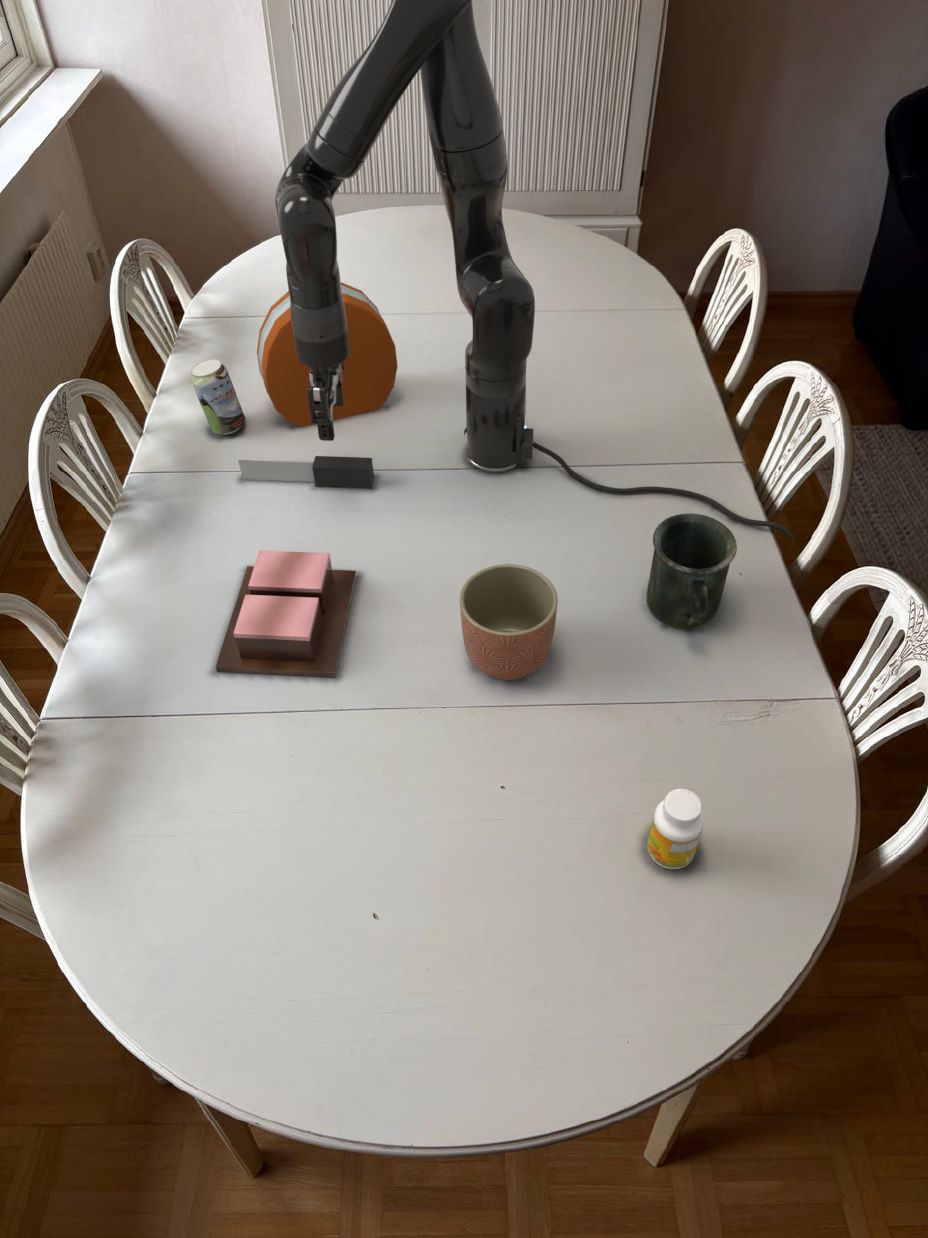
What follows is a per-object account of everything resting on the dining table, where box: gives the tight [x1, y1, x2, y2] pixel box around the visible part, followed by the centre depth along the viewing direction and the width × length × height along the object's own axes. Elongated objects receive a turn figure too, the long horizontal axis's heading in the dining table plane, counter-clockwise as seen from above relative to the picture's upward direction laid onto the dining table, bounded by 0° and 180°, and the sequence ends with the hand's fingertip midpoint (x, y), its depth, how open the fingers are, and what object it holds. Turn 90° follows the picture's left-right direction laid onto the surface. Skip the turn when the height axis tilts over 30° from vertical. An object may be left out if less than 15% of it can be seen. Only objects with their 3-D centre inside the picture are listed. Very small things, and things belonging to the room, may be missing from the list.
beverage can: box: [190, 358, 246, 436], centre depth 164 cm, size 6×7×12 cm
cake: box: [215, 549, 358, 678], centre depth 136 cm, size 16×19×6 cm
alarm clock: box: [256, 281, 398, 427], centre depth 164 cm, size 22×10×23 cm, turn 108°
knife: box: [237, 455, 375, 490], centre depth 157 cm, size 21×3×4 cm, turn 86°
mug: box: [645, 512, 738, 630], centre depth 134 cm, size 11×15×12 cm
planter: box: [459, 563, 559, 681], centre depth 130 cm, size 12×12×11 cm
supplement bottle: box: [646, 788, 705, 870], centre depth 110 cm, size 5×5×10 cm
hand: (332, 421), depth 150 cm, fingers open, 8 cm apart
